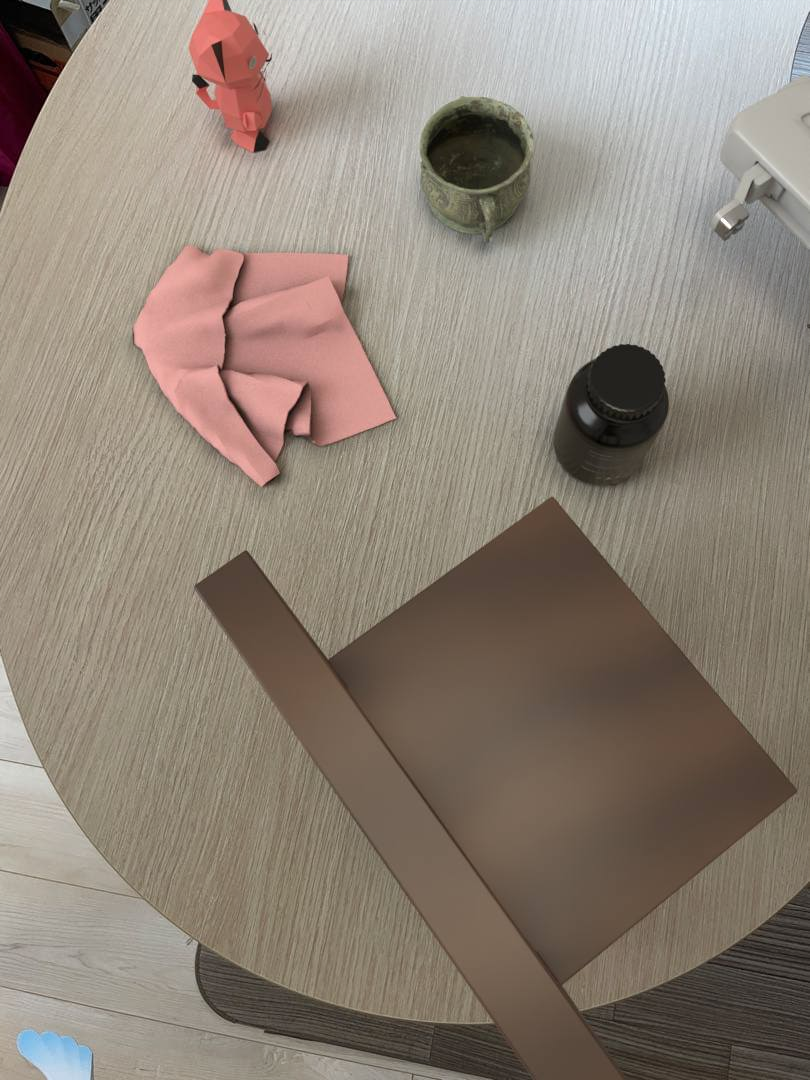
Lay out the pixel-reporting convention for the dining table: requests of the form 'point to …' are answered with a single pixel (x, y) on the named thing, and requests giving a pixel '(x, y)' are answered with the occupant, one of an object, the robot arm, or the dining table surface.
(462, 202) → the vessel
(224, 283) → the cloth
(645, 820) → the shelf
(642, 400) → the supplement bottle
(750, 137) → the robot arm
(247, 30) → the cat figurine
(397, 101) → the dining table surface
